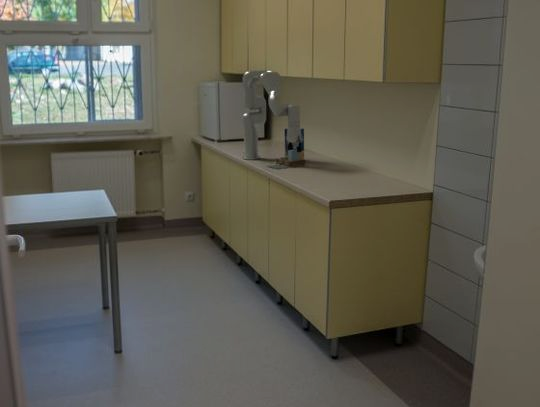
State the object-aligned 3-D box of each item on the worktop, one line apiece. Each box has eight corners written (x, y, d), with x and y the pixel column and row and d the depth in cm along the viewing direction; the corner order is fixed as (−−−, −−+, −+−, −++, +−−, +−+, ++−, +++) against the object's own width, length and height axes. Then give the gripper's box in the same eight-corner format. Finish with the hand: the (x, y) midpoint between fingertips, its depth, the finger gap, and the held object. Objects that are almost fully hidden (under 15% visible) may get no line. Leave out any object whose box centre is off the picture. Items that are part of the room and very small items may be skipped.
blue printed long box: (304, 161, 402) (304, 128, 396) (290, 163, 396) (290, 129, 390) (298, 159, 407) (297, 127, 402) (285, 161, 401) (284, 128, 396)
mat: (267, 166, 382) (267, 166, 382) (278, 165, 387) (278, 164, 387) (277, 169, 372) (277, 168, 372) (288, 167, 377) (288, 167, 377)
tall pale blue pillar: (288, 165, 384) (288, 150, 381) (297, 164, 387) (297, 149, 385) (291, 166, 381) (291, 151, 378) (300, 165, 384) (300, 149, 382)
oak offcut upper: (280, 160, 391) (280, 157, 391) (286, 159, 395) (286, 156, 394) (284, 161, 388) (284, 158, 388) (290, 160, 392) (290, 157, 391)
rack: (276, 163, 391) (276, 158, 390) (290, 162, 397) (290, 156, 396) (290, 167, 378) (290, 162, 377) (305, 165, 384) (305, 160, 383)
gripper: (281, 124, 383) (282, 150, 387) (297, 125, 369) (297, 153, 372) (291, 123, 387) (291, 149, 391) (307, 124, 373) (307, 152, 376)
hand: (294, 151), depth 382 cm, fingers open, 9 cm apart
